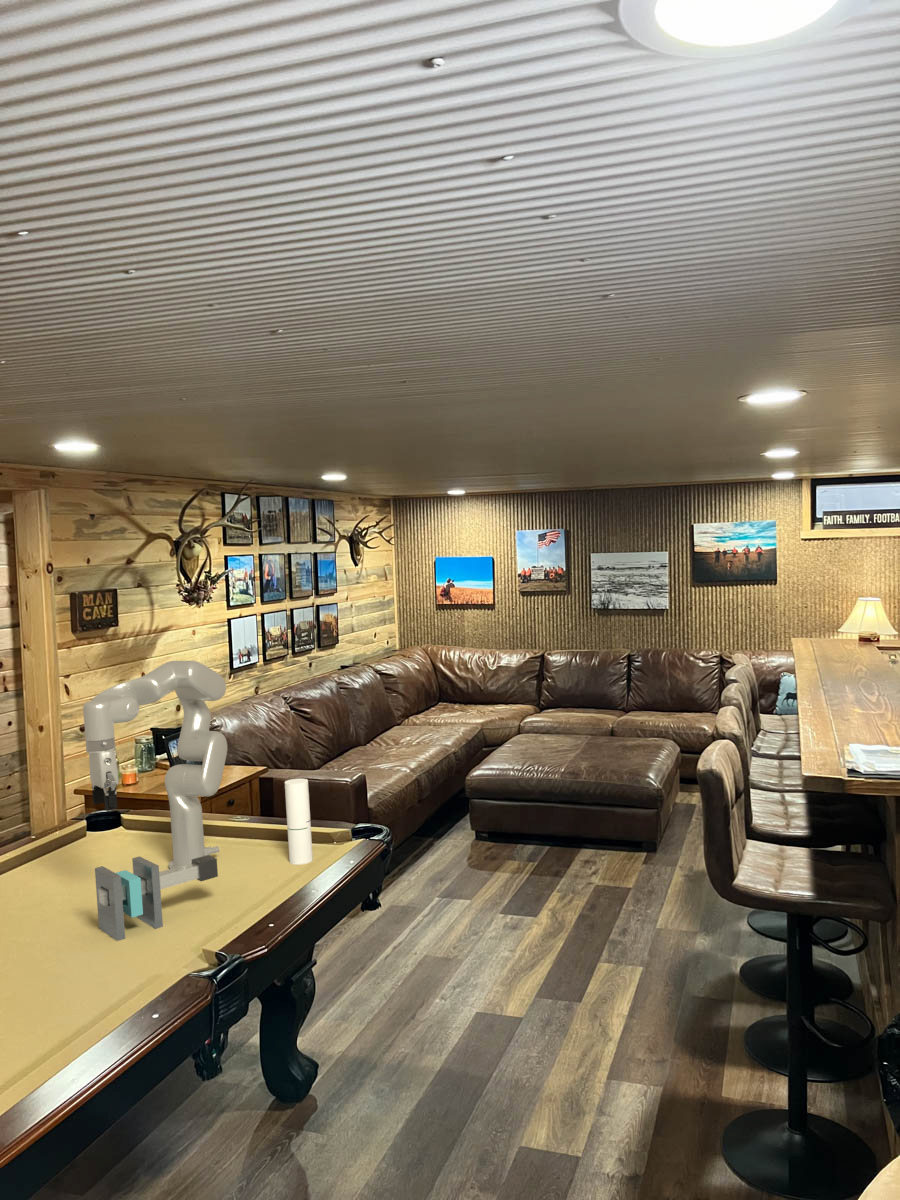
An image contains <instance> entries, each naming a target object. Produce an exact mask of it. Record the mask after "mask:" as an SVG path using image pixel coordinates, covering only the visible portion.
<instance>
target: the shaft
mask: <svg viewBox="0 0 900 1200" xmlns="http://www.w3.org/2000/svg"><path fill="white" fill-rule="evenodd" d="M218 871H219V870H218V859H217V857H214V856H211V855H210V856H209V855H206V856H202V857H199V858H195V859H192V863H190V864H187V865H183V866H179V867H176V868H172V869H170V868H169V869H165V870H161V871H159V876H160V891H161V890H164V889H167V888H171V887H173V886H177V885H181V884H183V883H184V884H185V883H187V882H190V881H195V880H196V881H200V882H204V881H207V880H210V879H214V878H217V877H219V874H218V873H219V872H218ZM140 878H141V892H142V895H143V894H147V893H148V892H147V880H146V879H144V878H142V877H140ZM121 886H122V900H126V899H127V887H126V886H124V885H122V884H121ZM98 891H99V903H101V904H103V905H104V906H105V905H109V904H110V903H109V890H107V889H105V888H100V889H98Z"/></svg>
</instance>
